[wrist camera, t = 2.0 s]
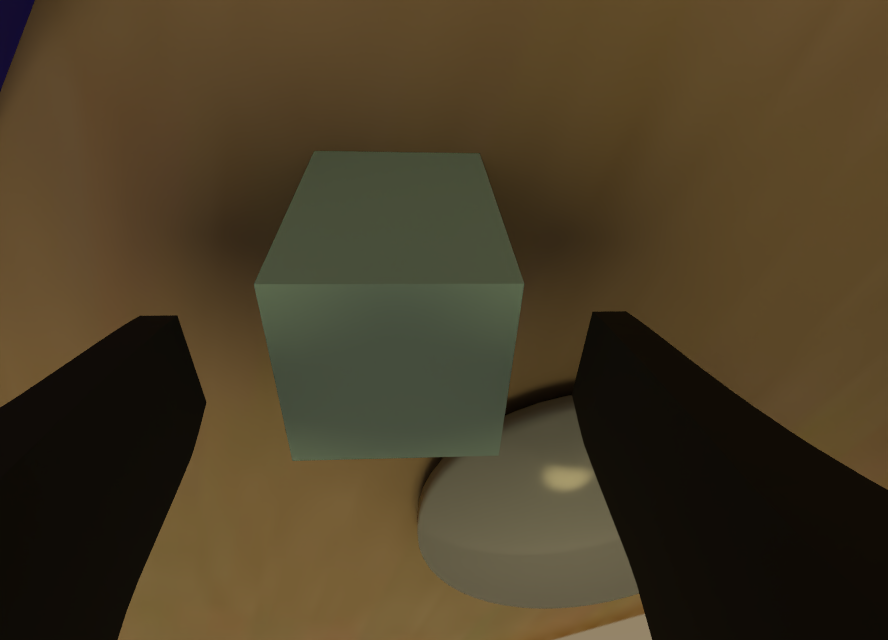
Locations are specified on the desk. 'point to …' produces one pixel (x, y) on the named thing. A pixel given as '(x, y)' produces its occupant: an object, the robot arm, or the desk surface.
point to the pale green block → (391, 308)
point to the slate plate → (525, 518)
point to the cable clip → (11, 30)
